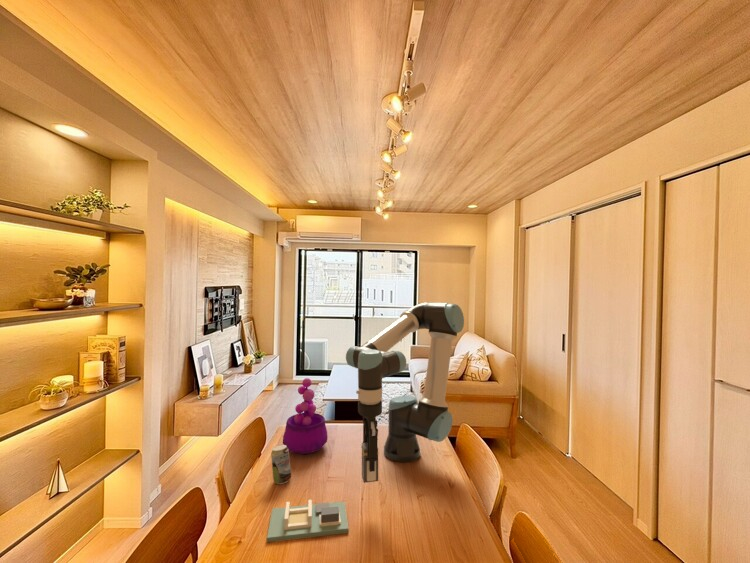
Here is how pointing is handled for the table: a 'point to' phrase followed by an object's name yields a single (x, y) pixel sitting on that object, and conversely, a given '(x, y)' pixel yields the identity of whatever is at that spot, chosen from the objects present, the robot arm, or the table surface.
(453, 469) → the table surface
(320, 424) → the decorative plant
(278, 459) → the beverage can
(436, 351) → the robot arm
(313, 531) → the board
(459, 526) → the table surface
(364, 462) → the plug
